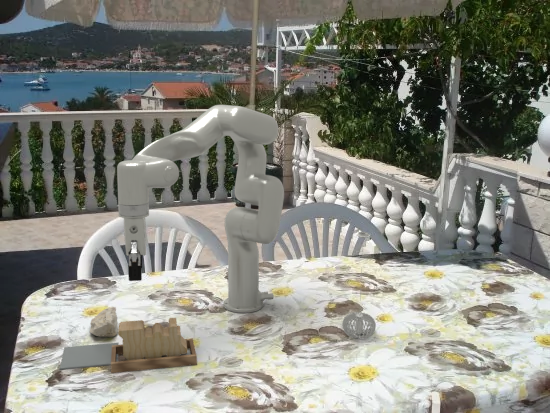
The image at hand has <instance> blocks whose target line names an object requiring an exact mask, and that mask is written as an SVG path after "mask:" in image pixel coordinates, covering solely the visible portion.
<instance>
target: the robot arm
mask: <svg viewBox="0 0 550 413" xmlns="http://www.w3.org/2000/svg"><path fill="white" fill-rule="evenodd" d="M278 134H279V124H278V122H277V120H276V119H275V118H274V117H273V116H272V115H269V114H266V113H263V112H260V111H257V110H253V109H250V108H248V107H245V106H239V105H229V104H228V105H227V104H216V105H212V106H211V107H209V108H208V109H207V110H205V111H204V112H203V113H202V114H201V115H199V116H198V117H197V118H195V120H193V121H192V122H191V123H189V124H188V125H187V126H186V127H184V128H183V129H181V130H179V131H176V132H174V133H170V134H169V135H166V136H164V137H161V138H159V139H157V140H155V141H153V142H151V143H149V144H148V145H147V146H146V147H145V148H143V149H142V150H140V151H139V152H138V153H137V154H136V155H135V156H134V157H133V158H132V160H131V159H130V160H129V159H128V160H123V161H120V162H119V163H118V164H117V167H116V168H117V169H116V173H117V175H116V176H117V178H116V179H117V200H118V201H117V202H118V203H117V205H118V208H117V209H118V217H119V218H122V219H123V232H124V233H123V235H124V246H125V253H126V254H125V255H126V256H127V257H128V265H127V266H128V267H127V270H128V271H127V272H128V281H129V282H138V281H139V282H140V281H142V279H143V275H142V269H143V257H145V256H146V255H147V225H146V218H147V217H149V215H150V203H149V202H150V200H149V199H150V198H149V197H150V196H149V195H150V194H149V190H150V189H156V188H157V189H158V188H159V189H166V188H169V187H171V186H174V185H175V184H176V182H177V181H178V180H179V176H180V169H179V167H178V165H177V164H176V163H175V161H179V160H186V159H187V160H188V159H191V158H196V157H198V156H199V157H200V156H202V155H204V154H205V153H206V152H207V151H209V149H211V148H212V147H213V146H214V145H216V144H217V142H219V141H220V140H222V138H224V137H226V136H227V137H230V138H231V139H232V141H233V143H234V145H235V146H236V148H237V151H238V152H237V153H238V162H237V168H236V170H237V171H236V178H235V184H234V196H235V198H236V200H238V201H239V202H241V203H245V204H248V205H253V206H258V209H254V208H249V207H246V206H244V207H243V206H236V207H233V208H231V209H229V211H228V212H227V213H226V215H225V217H224V230H225V235H226V241H227V261H228V262H227V264H228V265H227V266H228V267H227V276H228V277H227V283H228V285H227V287H228V291H227V292H228V294H227V295H228V296H227V298H225V299H224V301H223V307H224V308H225V310H227V311H230V312H233V313H239V314H241V313H242V314H246V313H254V312H256V311H257V312H258V311H259V310H261V309H262V308H263V307H264V301H265V300H268V301H269V300H275V298H274V296H275V294H274V293H273V292H272V293H269V291H260V289H259V287H260V286H259V282H260V278H259V277H260V276H259V275H260V253H259V246H258V244H263V245H269V244H271V243H273V242H274V241H275V240H276V238H277V236H278V234H279V231H280V225H281V220H282V219H281V218H282V212H283V206H284V200H285V189H284V185H283V183H282V181H281V179H280V178H278V177H277V176H273V175H270V174H266V171H267V170H266V168H267V160H268V159H267V157H268V156H267V152H266V148H265V146H264V145H270V144H272V143H273V142H275V140H277V138H278Z"/></svg>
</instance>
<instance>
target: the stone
mask: <svg viewBox="0 0 550 413" xmlns="http://www.w3.org/2000/svg"><path fill="white" fill-rule="evenodd" d="M89 325H90V328H89V333H91V334H92V335H94V336H97V337H99V338H100V337H101V338H102V337H104V338H105V337H108V338H113V337H115V336H117V335H118V329H119V322H118V316H117V308H116V306H111V307H107V308H105V309H103V310H101V311H100V312H98V314H97V315H96V316H94V317H93V318H92V319H91V321H90V324H89Z"/></svg>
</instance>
